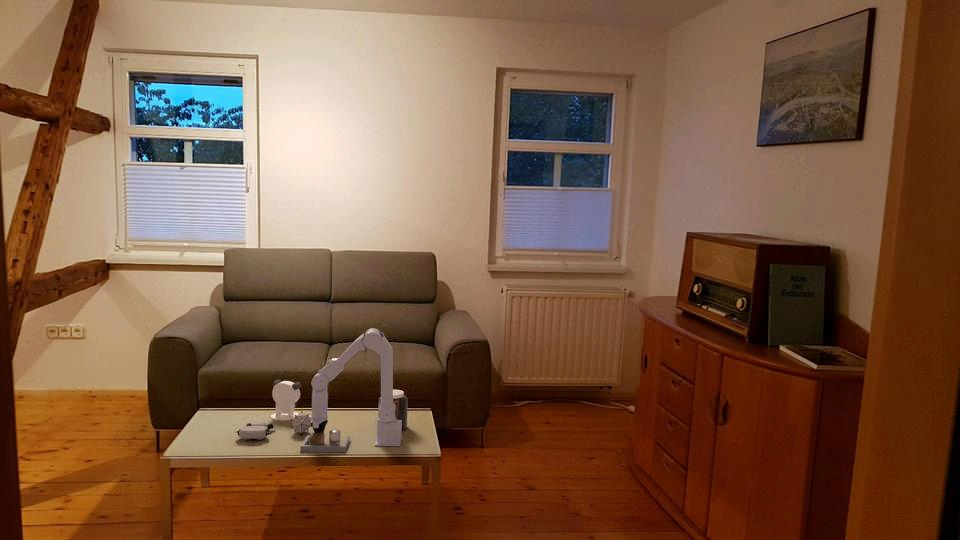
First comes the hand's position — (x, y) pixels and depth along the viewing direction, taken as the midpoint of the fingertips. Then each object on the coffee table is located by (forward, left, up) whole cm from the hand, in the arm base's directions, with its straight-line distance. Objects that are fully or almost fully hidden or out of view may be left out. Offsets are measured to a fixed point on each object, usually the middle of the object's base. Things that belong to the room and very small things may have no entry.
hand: (319, 440), depth 230 cm
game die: (+9, -10, -1) cm, 14 cm away
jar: (-26, -17, -1) cm, 31 cm away
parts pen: (-3, +3, -1) cm, 4 cm away
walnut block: (0, +4, -1) cm, 4 cm away
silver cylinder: (-6, +4, -1) cm, 8 cm away
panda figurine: (+20, -29, -1) cm, 36 cm away
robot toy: (+25, -6, -2) cm, 26 cm away
